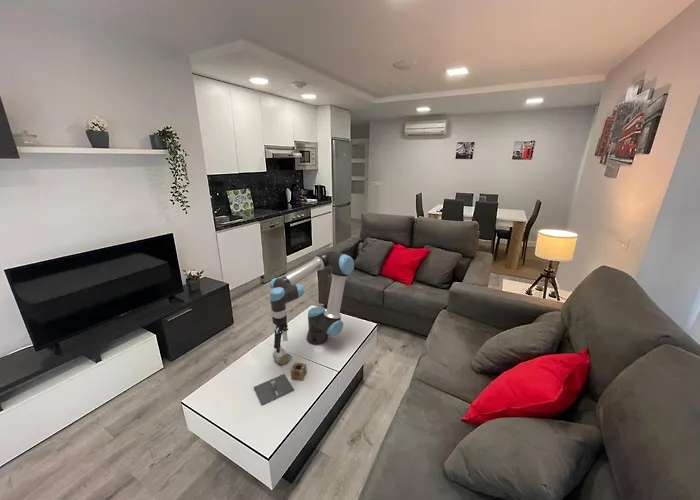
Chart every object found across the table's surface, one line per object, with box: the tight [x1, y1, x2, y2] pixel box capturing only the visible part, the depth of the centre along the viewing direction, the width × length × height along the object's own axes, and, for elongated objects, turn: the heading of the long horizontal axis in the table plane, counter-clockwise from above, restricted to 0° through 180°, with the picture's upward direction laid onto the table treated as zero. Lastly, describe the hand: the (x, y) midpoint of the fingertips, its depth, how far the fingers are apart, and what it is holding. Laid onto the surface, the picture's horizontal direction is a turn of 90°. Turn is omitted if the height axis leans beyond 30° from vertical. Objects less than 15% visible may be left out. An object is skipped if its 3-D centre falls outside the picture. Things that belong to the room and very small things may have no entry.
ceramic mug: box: [272, 347, 293, 366], centre depth 181 cm, size 11×8×8 cm
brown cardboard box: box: [290, 362, 308, 382], centre depth 169 cm, size 7×7×6 cm
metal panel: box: [253, 373, 295, 406], centre depth 159 cm, size 18×14×5 cm
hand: (282, 348), depth 163 cm, fingers open, 13 cm apart
